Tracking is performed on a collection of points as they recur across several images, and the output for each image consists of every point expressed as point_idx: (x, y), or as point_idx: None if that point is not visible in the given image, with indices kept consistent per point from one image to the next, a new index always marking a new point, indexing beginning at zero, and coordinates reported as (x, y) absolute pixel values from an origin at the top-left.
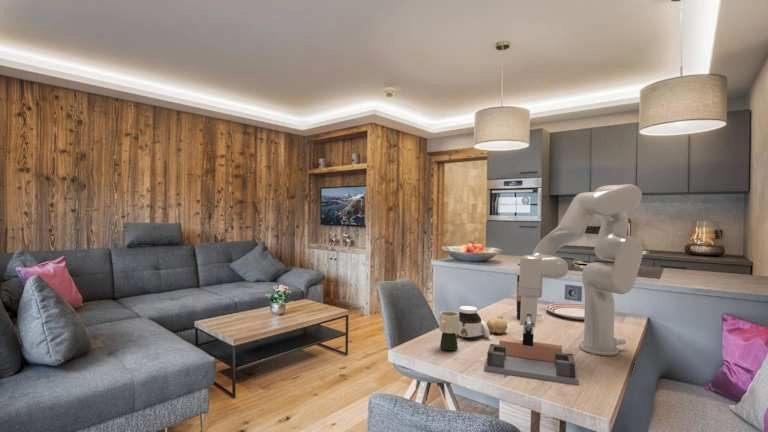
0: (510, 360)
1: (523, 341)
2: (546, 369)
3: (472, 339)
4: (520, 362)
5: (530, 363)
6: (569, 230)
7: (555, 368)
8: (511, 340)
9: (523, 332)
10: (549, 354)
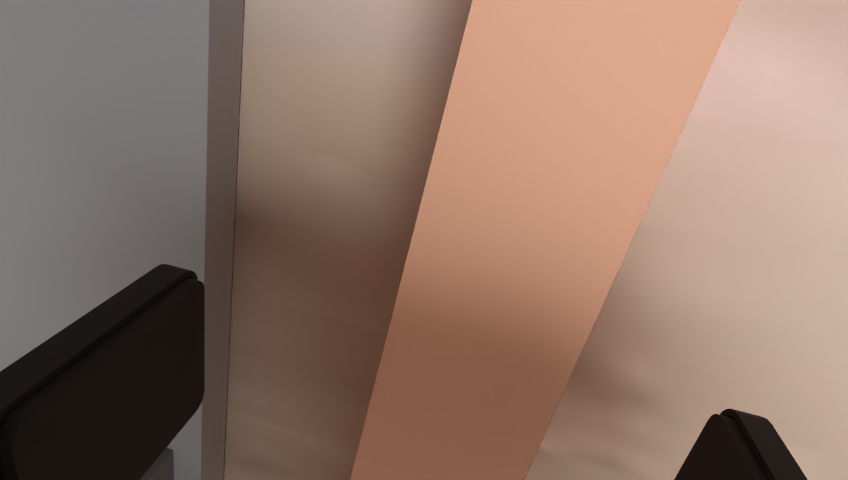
0: (90, 2)
1: (123, 300)
2: (18, 342)
3: None
4: (80, 128)
5: (101, 237)
6: None
7: None
8: (561, 108)
9: (770, 477)
10: None
